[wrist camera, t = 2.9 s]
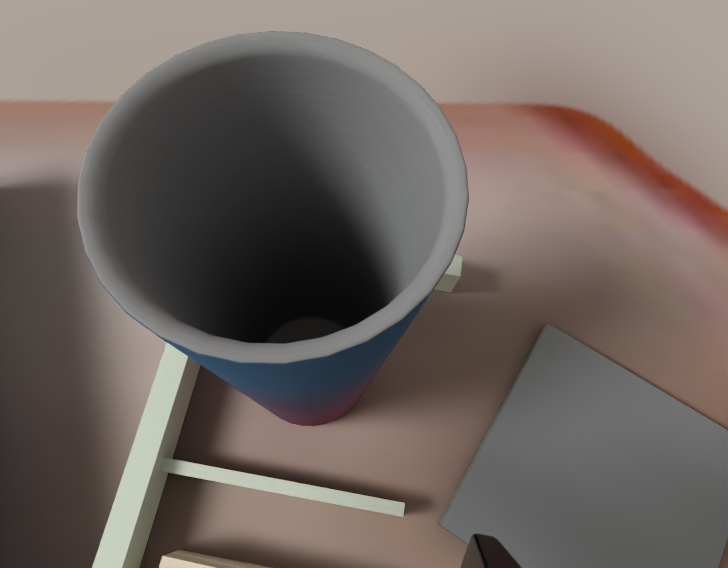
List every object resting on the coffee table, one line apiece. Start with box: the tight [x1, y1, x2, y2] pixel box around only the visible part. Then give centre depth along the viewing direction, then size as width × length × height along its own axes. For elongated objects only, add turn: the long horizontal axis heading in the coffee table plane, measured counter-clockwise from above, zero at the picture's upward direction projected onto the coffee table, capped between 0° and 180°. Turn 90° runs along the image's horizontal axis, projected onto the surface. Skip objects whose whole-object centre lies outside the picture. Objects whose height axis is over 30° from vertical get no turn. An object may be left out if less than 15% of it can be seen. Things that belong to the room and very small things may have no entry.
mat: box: [438, 323, 728, 568], centre depth 22 cm, size 10×10×1 cm
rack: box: [92, 255, 463, 568], centre depth 20 cm, size 22×12×2 cm, turn 170°
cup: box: [77, 31, 469, 426], centre depth 16 cm, size 7×7×15 cm
